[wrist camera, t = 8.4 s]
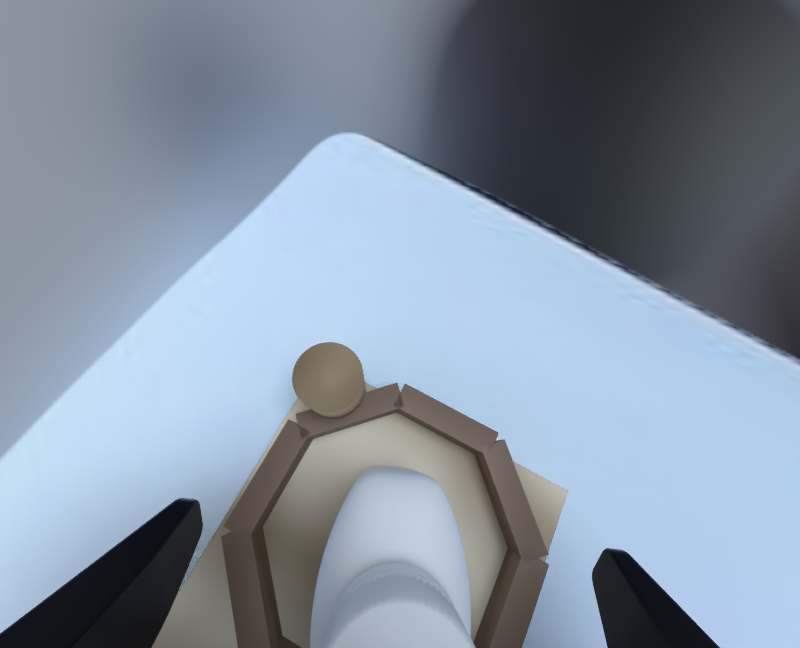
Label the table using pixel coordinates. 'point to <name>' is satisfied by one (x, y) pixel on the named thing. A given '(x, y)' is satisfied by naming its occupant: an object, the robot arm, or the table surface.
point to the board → (325, 494)
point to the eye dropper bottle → (393, 568)
